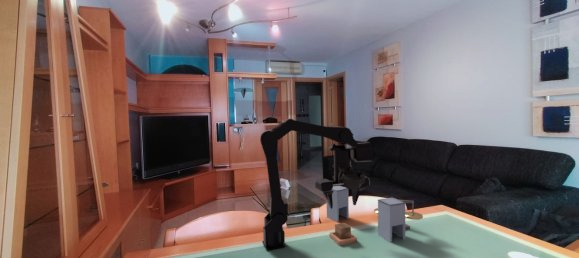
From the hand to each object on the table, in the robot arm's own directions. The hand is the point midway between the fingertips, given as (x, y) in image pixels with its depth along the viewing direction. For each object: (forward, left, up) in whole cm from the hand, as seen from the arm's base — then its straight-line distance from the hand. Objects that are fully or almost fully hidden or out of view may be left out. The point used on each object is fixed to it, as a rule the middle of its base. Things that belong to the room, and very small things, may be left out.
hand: (343, 206), depth 96 cm
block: (0, 0, -11) cm, 11 cm away
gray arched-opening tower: (+17, -4, -12) cm, 21 cm away
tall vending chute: (+8, +19, -12) cm, 23 cm away
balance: (+25, +3, -12) cm, 28 cm away
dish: (0, 0, -12) cm, 12 cm away
